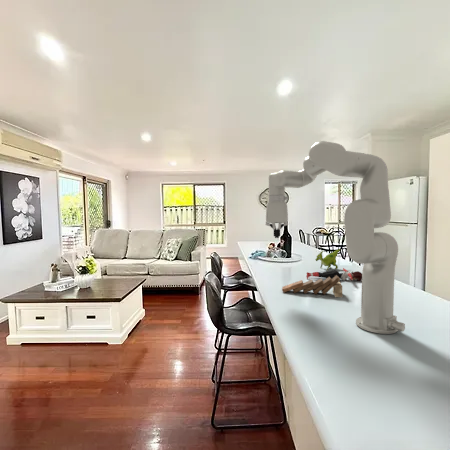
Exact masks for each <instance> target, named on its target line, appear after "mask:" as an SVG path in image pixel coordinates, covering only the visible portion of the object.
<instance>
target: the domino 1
mask: <svg viewBox="0 0 450 450" xmlns="http://www.w3.org/2000/svg"><path fill="white" fill-rule="evenodd" d="M303 283H304V281H303V280H302V279H300V280H299V281H295V282H293V283H290V284H287V285H284V286H282V288H281V290H282V293H283V294H284V293H287V292H290V291H293V289H295V288H298V287H301V286H304V285H303Z"/></svg>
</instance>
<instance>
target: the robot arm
mask: <svg viewBox="0 0 450 450" xmlns="http://www.w3.org/2000/svg"><path fill="white" fill-rule="evenodd" d="M302 166H303V169H302V170H299V171H296V170H295V171H294V170H280V171H278V172H273V173H270V174H269V175H268V202H267V204H266V211H265V212H266V213H265V214H266V215H265V226H268V227H270V228H272V230H273V237H274V238H275V239H279V237H281V229H282V228H283V227H286V226H289V222H288V221H289V213H288V212H289V211H288V204H287V202H286V201H287V200H289V198H288V196H286V195H285V194H286V188H292V189H299V188H303V187H305V186H307V185H309V184H312V183H313V182H314V181H315V180H316V178H317V176H319V175H321V174H323V173H325V172H328V173H330V174H333V175H335V176H338V177H345V178H346V177H347V178H358V179H359V178H360V179H362V180H361V183H360V188H359V194H360V199H355V200H353V201H351V202H350V203H349V204H348V205H347V207H346V209H345V211H344V217H343V218H344V231H345V233H344V234H345V245H346V250H347V254H348V256H349V258H350V259H351V260H352V261H353V262H355V263H357V264H361V265H362V264H363V267H362V271H361V273H362V280H361V298H360V299H361V300H360V301H361V305H360V306H361V309H360V317H358V318H356V319H355V324H356V326H358V327H359V328H360V329H362V330H365V331H367V332H370V333H375V334H380V335H381V334H382V335H392V334H395V333H397V332H403V333H404V331H405V330H406V323H404V322H401V321H398V320H397V316H396V315H394V305H395V303H394V302H395V301H394V300H395V276H396V275H395V274H396V273H395V272H396V265H397V260H398V259H397V258H398V255H399V244H398V242H397V239H396V238H395V237H394V236H393V235H391V234H390V233H387V232H381V231H378V232H377V231H376V232H375V229H380V228H384V227H385V226H387V225H388V224H389V223H390V222H391V218H392V211H391V209H392V208H391V200H390V199H391V198H390V190H389V172H388V171H389V170H388V166H387V163H386V162H385V160H383V159H382V158H381V157H379V156H377V155H374V154H369V153H366V152H358V151H350V150H346V148H345V147H344V145H342V144H340V143H337V142H332V141H326V140H320V141H316V142H315V143H314V144H313V145H312V146H311V147H310V149H309V151H308V156H307V157H305V158H304V159H303V162H302ZM276 224H277V225H278V226H277V227H276Z"/></svg>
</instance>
